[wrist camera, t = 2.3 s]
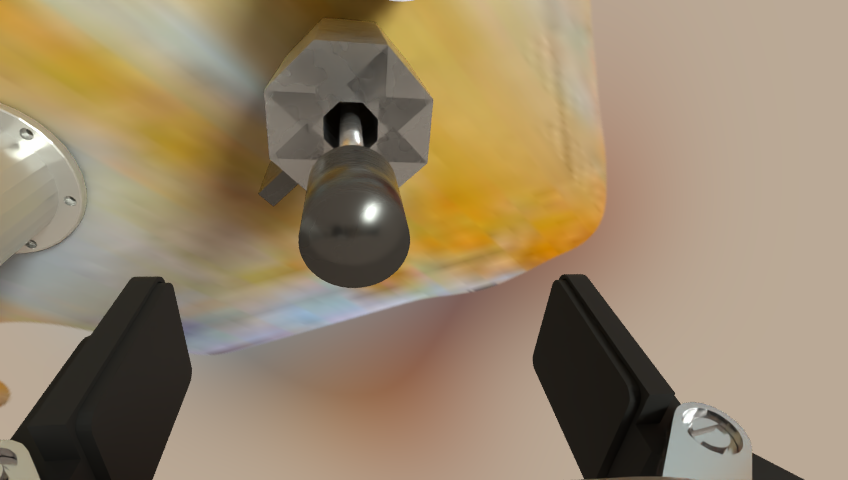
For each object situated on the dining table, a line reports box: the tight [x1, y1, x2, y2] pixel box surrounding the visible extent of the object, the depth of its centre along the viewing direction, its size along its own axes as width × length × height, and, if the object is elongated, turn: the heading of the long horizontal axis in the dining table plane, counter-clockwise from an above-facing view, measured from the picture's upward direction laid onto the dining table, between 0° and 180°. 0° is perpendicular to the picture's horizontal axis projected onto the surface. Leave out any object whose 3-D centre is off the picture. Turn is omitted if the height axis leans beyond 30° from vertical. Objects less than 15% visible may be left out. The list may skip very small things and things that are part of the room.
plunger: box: [299, 102, 410, 288], centre depth 22 cm, size 4×4×17 cm
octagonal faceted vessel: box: [258, 18, 433, 206], centre depth 31 cm, size 12×9×12 cm
